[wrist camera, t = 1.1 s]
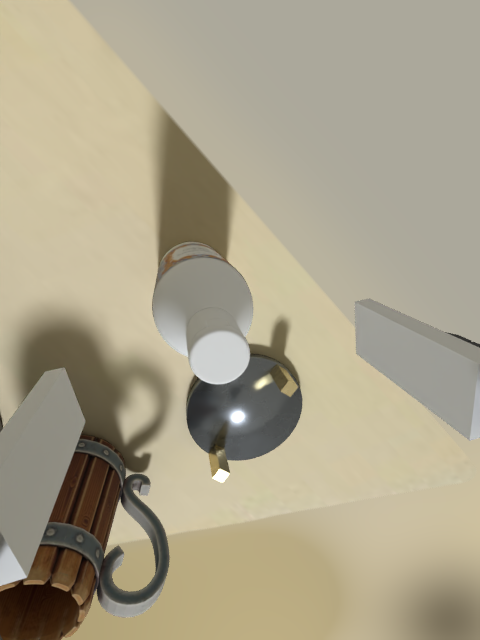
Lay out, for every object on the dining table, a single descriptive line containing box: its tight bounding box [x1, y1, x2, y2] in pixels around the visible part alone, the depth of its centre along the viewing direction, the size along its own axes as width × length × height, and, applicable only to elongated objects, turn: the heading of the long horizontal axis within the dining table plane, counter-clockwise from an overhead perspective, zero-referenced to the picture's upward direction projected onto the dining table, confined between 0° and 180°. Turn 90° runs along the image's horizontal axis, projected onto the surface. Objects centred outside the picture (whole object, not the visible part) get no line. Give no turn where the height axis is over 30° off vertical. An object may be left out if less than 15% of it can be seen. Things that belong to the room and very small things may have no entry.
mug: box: [0, 435, 169, 640], centre depth 32 cm, size 16×11×15 cm
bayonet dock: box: [186, 354, 302, 482], centre depth 38 cm, size 14×14×5 cm
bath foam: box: [152, 242, 253, 384], centre depth 24 cm, size 7×7×20 cm
